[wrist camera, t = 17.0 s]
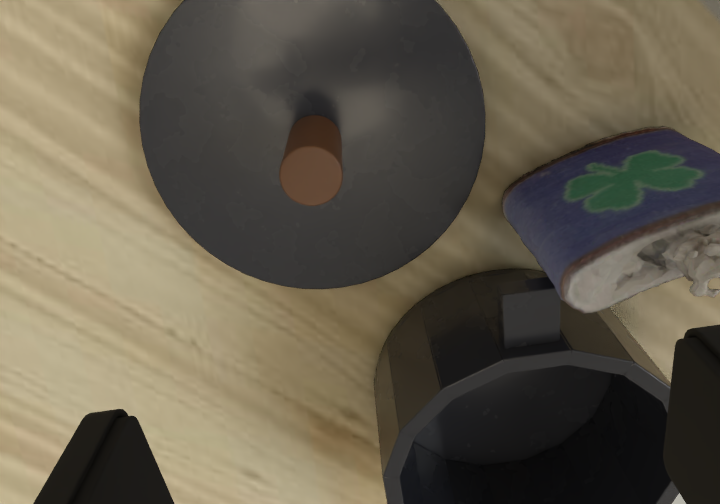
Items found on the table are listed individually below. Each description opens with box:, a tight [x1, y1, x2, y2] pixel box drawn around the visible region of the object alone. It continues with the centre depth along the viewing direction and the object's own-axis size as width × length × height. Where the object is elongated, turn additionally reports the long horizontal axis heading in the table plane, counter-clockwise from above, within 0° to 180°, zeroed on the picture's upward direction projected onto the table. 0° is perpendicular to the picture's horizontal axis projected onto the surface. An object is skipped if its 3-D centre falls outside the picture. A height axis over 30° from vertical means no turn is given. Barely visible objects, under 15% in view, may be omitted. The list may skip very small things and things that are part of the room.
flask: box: [502, 126, 720, 313], centre depth 23 cm, size 9×3×11 cm, turn 110°
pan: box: [374, 269, 679, 504], centre depth 30 cm, size 15×20×8 cm
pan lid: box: [140, 0, 485, 289], centre depth 24 cm, size 16×16×6 cm
